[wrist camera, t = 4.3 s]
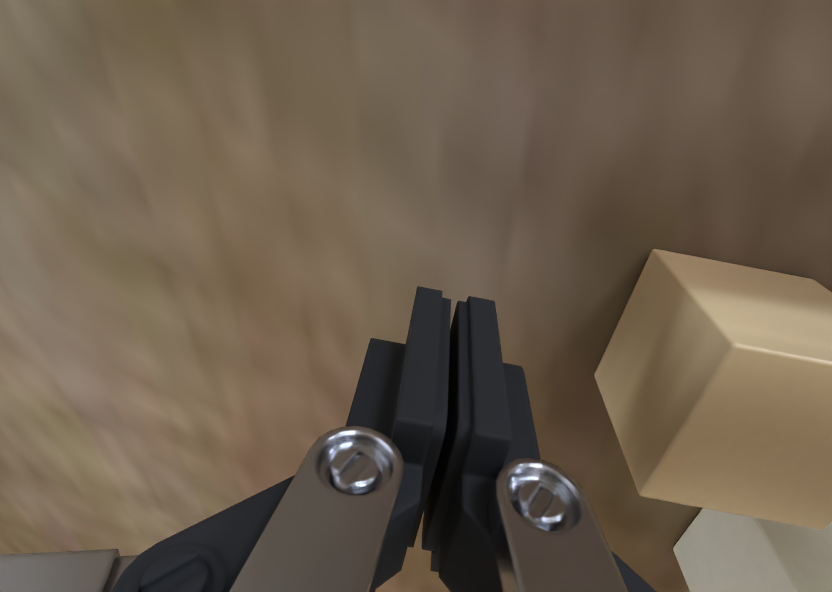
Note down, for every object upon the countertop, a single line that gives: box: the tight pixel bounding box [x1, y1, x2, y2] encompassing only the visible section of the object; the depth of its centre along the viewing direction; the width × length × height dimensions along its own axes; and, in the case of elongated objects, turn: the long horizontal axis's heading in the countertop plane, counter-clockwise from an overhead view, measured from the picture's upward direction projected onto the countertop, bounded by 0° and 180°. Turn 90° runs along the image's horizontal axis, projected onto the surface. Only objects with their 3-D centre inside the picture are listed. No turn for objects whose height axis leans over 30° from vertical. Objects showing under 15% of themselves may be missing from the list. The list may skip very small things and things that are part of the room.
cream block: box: [673, 508, 832, 592], centre depth 15 cm, size 4×4×4 cm
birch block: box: [594, 249, 832, 530], centre depth 11 cm, size 4×4×4 cm
